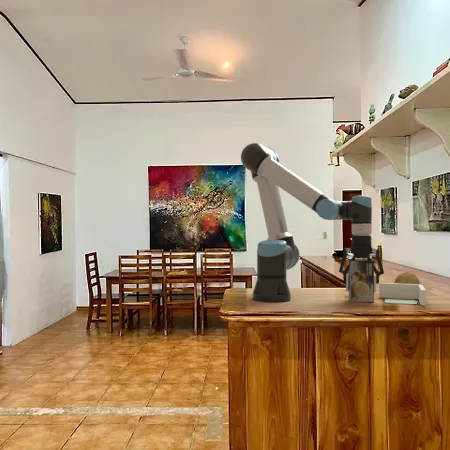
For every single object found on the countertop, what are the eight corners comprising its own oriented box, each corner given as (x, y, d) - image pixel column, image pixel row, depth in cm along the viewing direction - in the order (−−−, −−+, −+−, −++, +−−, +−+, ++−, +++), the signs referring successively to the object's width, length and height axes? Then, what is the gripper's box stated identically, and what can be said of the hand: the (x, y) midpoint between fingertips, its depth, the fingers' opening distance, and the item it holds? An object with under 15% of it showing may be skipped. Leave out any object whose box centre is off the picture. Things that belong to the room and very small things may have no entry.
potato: (417, 294, 211) (417, 271, 211) (421, 298, 199) (422, 274, 198) (392, 293, 213) (392, 270, 213) (395, 297, 201) (395, 273, 201)
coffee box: (371, 299, 193) (371, 259, 193) (374, 302, 187) (374, 260, 187) (347, 299, 194) (348, 259, 194) (350, 301, 188) (350, 260, 188)
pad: (385, 303, 185) (385, 302, 185) (384, 299, 194) (384, 298, 194) (418, 304, 182) (418, 304, 182) (416, 301, 190) (416, 300, 190)
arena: (378, 303, 184) (378, 288, 184) (378, 297, 201) (379, 282, 201) (425, 306, 178) (425, 290, 178) (421, 299, 196) (421, 284, 196)
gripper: (331, 234, 190) (331, 291, 190) (391, 235, 183) (391, 294, 183) (333, 234, 197) (333, 288, 197) (391, 235, 190) (390, 291, 191)
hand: (361, 291), depth 190 cm, fingers closed on coffee box, 10 cm apart
